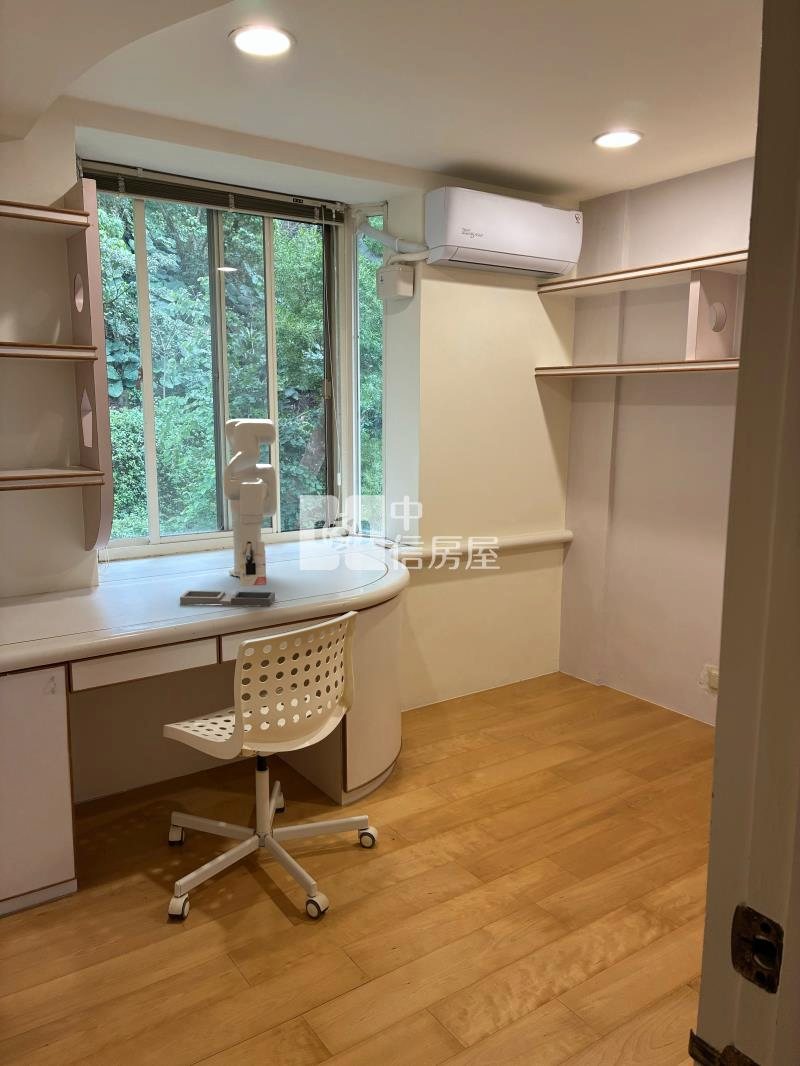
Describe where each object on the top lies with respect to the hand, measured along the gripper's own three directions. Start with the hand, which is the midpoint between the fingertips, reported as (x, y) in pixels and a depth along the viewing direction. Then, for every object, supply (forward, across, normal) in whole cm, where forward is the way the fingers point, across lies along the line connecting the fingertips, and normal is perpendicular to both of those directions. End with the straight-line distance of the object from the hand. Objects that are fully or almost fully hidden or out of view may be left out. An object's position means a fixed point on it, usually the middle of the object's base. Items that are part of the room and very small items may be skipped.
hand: (252, 571), depth 265 cm
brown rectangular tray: (+11, 0, -17) cm, 20 cm away
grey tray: (+11, 0, -2) cm, 11 cm away
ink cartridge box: (+4, 0, 0) cm, 4 cm away
